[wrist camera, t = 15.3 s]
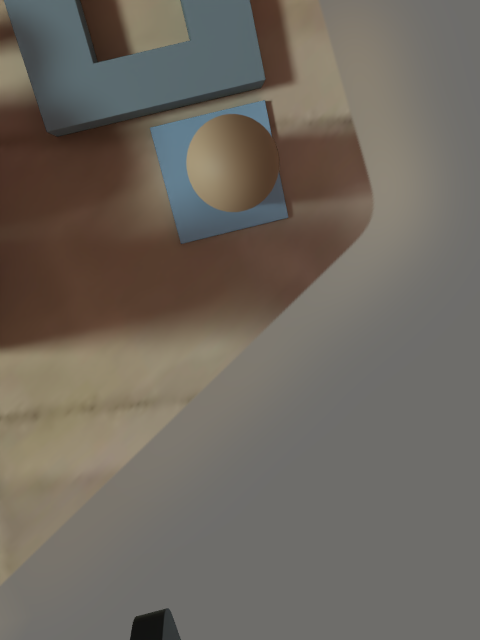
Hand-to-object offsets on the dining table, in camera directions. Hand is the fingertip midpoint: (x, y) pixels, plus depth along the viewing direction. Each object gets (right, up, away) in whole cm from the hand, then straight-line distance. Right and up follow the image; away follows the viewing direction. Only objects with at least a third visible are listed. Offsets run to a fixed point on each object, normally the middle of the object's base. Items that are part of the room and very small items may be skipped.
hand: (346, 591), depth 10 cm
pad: (-4, +18, +26) cm, 32 cm away
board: (-10, +29, +23) cm, 38 cm away
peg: (-4, +18, +26) cm, 31 cm away
